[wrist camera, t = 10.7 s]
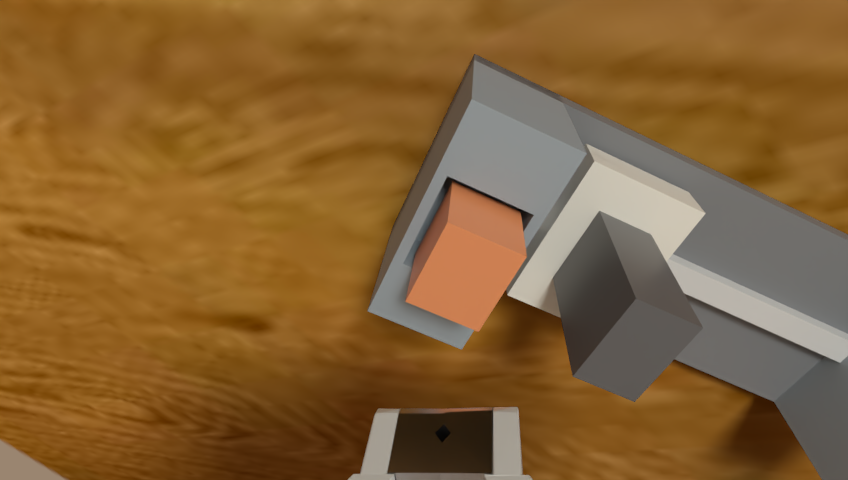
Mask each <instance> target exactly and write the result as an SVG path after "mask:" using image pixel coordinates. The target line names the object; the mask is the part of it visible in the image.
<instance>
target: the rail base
mask: <svg viewBox="0 0 848 480" xmlns="http://www.w3.org/2000/svg"><path fill="white" fill-rule="evenodd" d="M585 144H588V145H590V146H592V147H595V148H597V149H599V150H601V151H603V152H605V153H607V154H609V155H611V156H613V157H616V158H618V159H620V160H622V161H624V162H626V163H628V164H630V165H632V166H635V167H637V168H639V169H641V170H643V171H645V172H647V173H649V174H651V175H653V176H656V177H658V178H660V179H662V180H664V181H666V182H668V183H670V184H672V185H675V186H677V187H679V188H681V189H683V190H685V191H687V192H689V193H690V194H691V196H692V197H693V198H694V199H695V201H696V202H697V203H698V204H699V206H700V207H701V208H702V209H703V211H704V212H705V213H706V214H705V215H704V216H703V217H702V219H701V220H700V221H699V222H698V224H697V225H696V226H695V227H694V228H693V230H692V231H691V232H690V233H689V235H688V236H687V237H686V238H685V239H684V241H683V242H682V243H681V244H680V246H679V247H678V248H677V249H676V251H675V252H674V253H673V254H672V255H671V257H670V258H669V259H668V260H667V264H668V266H669V267H670V269H671V271H672V273H673V275H674V276H675V278H676V280H677V282H678V284H679V285H680V287H681V289H682V291H683V293H684V294H685V296H686V298H687V300H688V302H689V303H690V305H691V307H692V309H693V311H694V312H695V314H696V316H697V318H698V320H699V321H700V323H701V325H702V327H703V329H702V330H701V331H700V332H699V333H698V334H697V335H696V336H695V337H694V338H693V340H692V341H691V342H690V343H689V344H688V345H687V346H686V347H685V348H684V349H683V350H682V351H681V352H680V354H679V355H678V356H677V357H676V358H675V360H677V361H680V362H682V363H684V364H687V365H689V366H691V367H694V368H696V369H698V370H701V371H703V372H705V373H708V374H710V375H712V376H715V377H717V378H719V379H722V380H724V381H726V382H729V383H731V384H733V385H736V386H738V387H740V388H743V389H745V390H747V391H750V392H752V393H754V394H757V395H759V396H761V397H764V398H766V399H768V400H771V401H773V402H774V403H775V404H776V406H777V408H778V409H779V411H780V412H781V414H782V416H783V417H784V419H785V420H786V422H787V424H788V425H789V427H790V428H791V430H792V432H793V433H794V435H795V437H796V438H797V440H798V441H799V443H800V445H801V446H802V448H803V449H804V451H805V453H806V454H807V456H808V458H809V459H810V461H811V462H812V464H813V466H814V467H815V469H816V470H817V472H818V474H819V475H820V477H821V478H822V480H848V235H847V234H845V233H843V232H841V231H839V230H837V229H835V228H833V227H831V226H829V225H827V224H825V223H822V222H820V221H818V220H816V219H814V218H812V217H810V216H808V215H806V214H804V213H802V212H800V211H798V210H796V209H794V208H791V207H789V206H787V205H785V204H783V203H781V202H779V201H777V200H775V199H773V198H771V197H769V196H767V195H765V194H763V193H760V192H758V191H756V190H754V189H752V188H750V187H748V186H746V185H744V184H742V183H740V182H738V181H736V180H734V179H732V178H729V177H727V176H725V175H723V174H721V173H719V172H717V171H715V170H713V169H711V168H709V167H707V166H705V165H703V164H701V163H698V162H696V161H694V160H692V159H690V158H688V157H686V156H684V155H682V154H680V153H678V152H676V151H674V150H672V149H670V148H667V147H665V146H663V145H661V144H659V143H657V142H655V141H653V140H651V139H649V138H647V137H645V136H643V135H641V134H639V133H636V132H634V131H632V130H630V129H628V128H626V127H624V126H622V125H620V124H618V123H616V122H614V121H612V120H610V119H608V118H605V117H603V116H601V115H599V114H597V113H595V112H593V111H591V110H589V109H587V108H585V107H583V106H581V105H579V104H577V103H575V102H572V101H570V100H568V99H566V98H564V97H562V96H560V95H558V94H556V93H554V92H552V91H550V90H548V89H546V88H544V87H541V86H539V85H537V84H535V83H533V82H531V81H529V80H527V79H525V78H523V77H521V76H519V75H517V74H515V73H513V72H510V71H508V70H506V69H504V68H502V67H500V66H498V65H496V64H494V63H492V62H490V61H488V60H486V59H484V58H482V57H479V56H477V55H475V54H474V56H473V58H472V61H471V63H470V65H469V67H468V69H467V71H466V73H465V75H464V77H463V80H462V82H461V84H460V86H459V88H458V90H457V92H456V94H455V96H454V99H453V101H452V103H451V105H450V107H449V109H448V111H447V113H446V116H445V118H444V120H443V122H442V124H441V126H440V128H439V130H438V132H437V135H436V137H435V139H434V141H433V143H432V145H431V147H430V149H429V151H428V154H427V156H426V158H425V160H424V162H423V164H422V166H421V168H420V170H419V173H418V175H417V177H416V179H415V181H414V183H413V185H412V187H411V189H410V192H409V194H408V196H407V198H406V200H405V202H404V204H403V206H402V208H401V211H400V213H399V215H398V217H397V219H396V221H395V223H394V225H393V228H392V232H391V235H390V238H389V242H388V245H387V248H386V252H385V255H384V258H383V261H382V265H381V268H380V271H379V275H378V278H377V281H376V285H375V288H374V291H373V294H372V298H371V301H370V304H369V308H368V312H371V313H373V314H376V315H378V316H381V317H383V318H386V319H388V320H390V321H393V322H395V323H398V324H400V325H403V326H405V327H408V328H410V329H413V330H415V331H417V332H420V333H422V334H425V335H427V336H430V337H432V338H435V339H437V340H440V341H442V342H444V343H447V344H449V345H452V346H454V347H457V348H459V349H462V348H463V347H464V345H465V343H466V342H467V340H468V339H469V337H470V336H471V334H472V333H473V331H474V330H473V329H470V328H468V327H465V326H463V325H461V324H458V323H456V322H453V321H451V320H448V319H446V318H444V317H441V316H439V315H436V314H434V313H432V312H429V311H427V310H424V309H422V308H419V307H417V306H415V305H412V304H410V303H407V302H405V301H406V296H407V291H408V286H409V282H410V277H411V272H412V267H413V262H414V258H415V253H416V251H417V249H418V247H419V245H420V243H421V242H422V240H423V238H424V236H425V234H426V232H427V230H428V228H429V226H430V224H431V222H432V220H433V218H434V216H435V214H436V212H437V210H438V208H439V207H440V205H441V203H442V201H443V199H444V197H445V195H446V193H447V191H448V189H449V187H450V185H451V183H452V181H453V182H455V183H458V184H460V185H462V186H464V187H467V188H469V189H471V190H473V191H475V192H478V193H480V194H482V195H484V196H487V197H489V198H491V199H493V200H496V201H498V202H500V203H502V204H504V205H507V206H509V207H511V208H513V209H516V210H518V211H520V212H521V217H522V225H523V232H524V239H525V246H526V248H527V247H528V245H529V243H530V242H531V240H532V239H533V237H534V236H535V234H536V232H537V231H538V229H539V228H540V226H541V225H542V223H543V222H544V220H545V218H546V217H547V215H548V214H549V212H550V211H551V209H552V207H553V206H554V204H555V203H556V201H557V200H558V198H559V196H560V195H561V193H562V192H563V190H564V189H565V187H566V186H567V184H568V182H569V181H570V179H571V178H572V176H573V175H574V173H575V171H576V170H577V168H578V167H579V165H580V164H581V162H582V161H583V159H584V157H585V156H586V154H587V153H586V151H585V148H584V146H585Z"/></svg>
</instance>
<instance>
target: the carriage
mask: <svg viewBox="0 0 848 480" xmlns="http://www.w3.org/2000/svg"><path fill="white" fill-rule="evenodd" d="M584 148H585V151H586V153H587V154H586V156H585V157H584V159H583V161H582V162H581V164H580V165H579V167H578V168H577V170H576V171H575V173H574V175H573V176H572V178H571V179H570V181H569V182H568V184H567V186H566V187H565V189H564V190H563V192H562V193H561V195H560V196H559V198H558V200H557V201H556V203H555V204H554V206H553V207H552V209H551V211H550V212H549V214H548V215H547V217H546V218H545V220H544V222H543V223H542V225H541V226H540V228H539V229H538V231H537V232H536V234H535V236H534V237H533V239H532V240H531V242H530V243H529V245H528V247H527V248H526V254H527V258H526V259H525V261H524V262H523V264H522V265H521V267H520V268H519V270H518V271H517V273H516V275H515V276H514V278H513V279H512V281H511V282H510V284H509V285H508V287H507V295H508V296H511V297H513V298H515V299H518V300H520V301H522V302H525V303H527V304H529V305H532V306H534V307H536V308H539V309H541V310H543V311H546V312H548V313H550V314H553V315H555V316H557V317H560V318H561V321H562V326H563V331H564V335H565V340H566V345H567V350H568V355H569V360H570V365H571V370H572V375H573V377H576V378H578V379H580V380H583V381H585V382H588V383H590V384H592V385H595V386H597V387H600V388H602V389H605V390H607V391H609V392H612V393H614V394H617V395H619V396H622V397H624V398H626V399H629V400H631V401H634V402H635V401H636V400H637V399H638V398H639V397H640V395H641V394H642V393H643V392H644V391H645V390H646V389H647V388H648V387H649V386H650V385H651V384H652V383H653V381H654V380H655V379H656V378H657V377H658V376H659V375H660V374H661V373H662V372H663V371H664V370H665V369H666V367H667V366H668V365H669V364H670V363H671V362H672V361H673V360H674V359H675V358H676V357H677V356H678V355H679V354H680V352H681V351H682V350H683V349H684V348H685V347H686V346H687V345H688V344H689V343H690V342H691V341H692V340H693V338H694V337H695V336H696V335H697V334H698V333H699V332H700V331H701V330H702V329H703V327H702V325H701V323H700V321H699V320H698V318H697V316H696V314H695V312H694V311H693V309H692V307H691V305H690V303H689V302H688V300H687V298H686V296H685V294H684V293H683V291H682V289H681V287H680V285H679V284H678V282H677V280H676V278H675V276H674V275H673V273H672V271H671V269H670V267H669V266H668V264H667V260H668V259H669V258H670V257H671V255H672V254H673V253H674V252H675V251H676V249H677V248H678V247H679V246H680V244H681V243H682V242H683V241H684V239H685V238H686V237H687V236H688V235H689V233H690V232H691V231H692V230H693V228H694V227H695V226H696V225H697V224H698V222H699V221H700V220H701V219H702V217H703V216H704V215H705V214H706V213H705V212H704V211H703V209H702V208H701V207H700V206H699V204H698V203H697V202H696V201H695V199H694V198H693V197H692V196H691V194H690V193H689V192H687V191H685V190H683V189H681V188H679V187H677V186H675V185H672V184H670V183H668V182H666V181H664V180H662V179H660V178H658V177H656V176H653V175H651V174H649V173H647V172H645V171H643V170H641V169H639V168H637V167H635V166H632V165H630V164H628V163H626V162H624V161H622V160H620V159H618V158H616V157H613V156H611V155H609V154H607V153H605V152H603V151H601V150H599V149H597V148H595V147H592V146H590V145H588V144H585V146H584Z"/></svg>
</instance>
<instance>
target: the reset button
mask: <svg viewBox="0 0 848 480" xmlns="http://www.w3.org/2000/svg"><path fill="white" fill-rule="evenodd" d="M526 258H527V254H526V246H525V239H524V232H523V225H522V217H521V212H520V211H518V210H516V209H513V208H511V207H509V206H507V205H504V204H502V203H500V202H498V201H496V200H493V199H491V198H489V197H487V196H484V195H482V194H480V193H478V192H475V191H473V190H471V189H469V188H467V187H464V186H462V185H460V184H458V183H455V182H453V181H452V183H451V185H450V187H449V189H448V191H447V193H446V195H445V197H444V199H443V201H442V203H441V205H440V207H439V208H438V210H437V212H436V214H435V216H434V218H433V220H432V222H431V224H430V226H429V228H428V230H427V232H426V234H425V236H424V238H423V240H422V242H421V243H420V245H419V247H418V249H417V251H416V253H415V258H414V262H413V267H412V272H411V277H410V282H409V286H408V291H407V296H406V301H405V302H407V303H410V304H412V305H415V306H417V307H419V308H422V309H424V310H427V311H429V312H432V313H434V314H436V315H439V316H441V317H444V318H446V319H448V320H451V321H453V322H456V323H458V324H461V325H463V326H465V327H468V328H470V329H473V330H475V331H477V332H479V330H480V329H481V327H482V326H483V324H484V323H485V321H486V319H487V318H488V316H489V315H490V313H491V312H492V310H493V309H494V307H495V306H496V304H497V302H498V301H499V299H500V298H501V296H502V295H503V293H504V292H505V290H506V289H507V287H508V285H509V284H510V282H511V281H512V279H513V278H514V276H515V275H516V273H517V271H518V270H519V268H520V267H521V265H522V264H523V262H524V261H525V259H526Z"/></svg>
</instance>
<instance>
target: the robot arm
mask: <svg viewBox="0 0 848 480" xmlns="http://www.w3.org/2000/svg"><path fill="white" fill-rule="evenodd" d="M348 480H533V479H532V478H531V477H530V475H523V467H522V453H521V439H520V424H519V411H518V407H494V409H493V407H484V408H447V409H410V408H401V409H378V410H377V411H376V413H375V415H374V419H373V423H372V427H371V431H370V435H369V439H368V443H367V447H366V451H365V455H364V459H363V463H362V467H361V471H360V474H353V475H352V476H351V477H350V478H349V479H348Z"/></svg>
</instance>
